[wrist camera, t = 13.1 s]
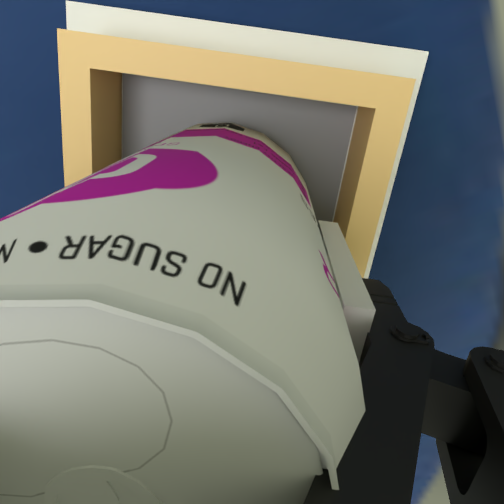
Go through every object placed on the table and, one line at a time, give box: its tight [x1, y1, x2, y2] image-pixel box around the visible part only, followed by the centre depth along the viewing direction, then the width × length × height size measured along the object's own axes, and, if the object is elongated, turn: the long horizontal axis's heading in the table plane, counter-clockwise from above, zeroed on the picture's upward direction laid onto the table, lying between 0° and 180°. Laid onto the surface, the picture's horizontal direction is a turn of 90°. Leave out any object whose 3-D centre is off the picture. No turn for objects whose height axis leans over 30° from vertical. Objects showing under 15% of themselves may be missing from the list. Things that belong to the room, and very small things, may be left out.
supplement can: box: [0, 123, 365, 504], centre depth 13 cm, size 8×8×15 cm
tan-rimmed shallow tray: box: [57, 1, 429, 279], centre depth 21 cm, size 22×16×7 cm
